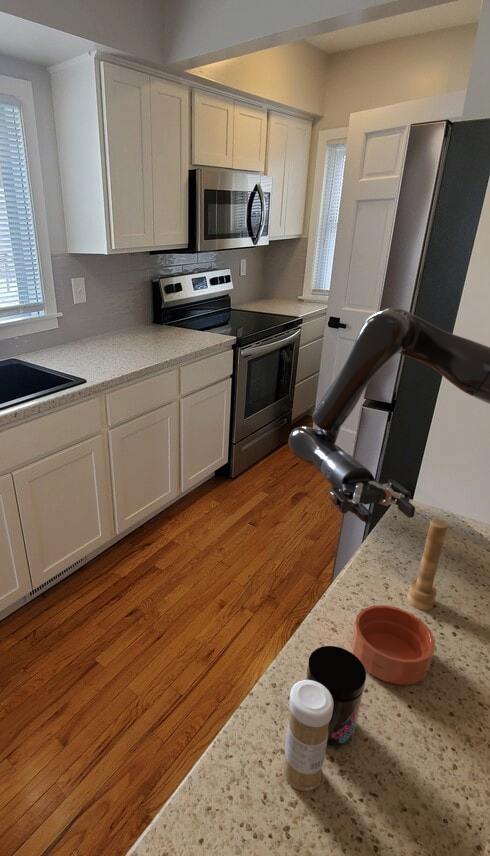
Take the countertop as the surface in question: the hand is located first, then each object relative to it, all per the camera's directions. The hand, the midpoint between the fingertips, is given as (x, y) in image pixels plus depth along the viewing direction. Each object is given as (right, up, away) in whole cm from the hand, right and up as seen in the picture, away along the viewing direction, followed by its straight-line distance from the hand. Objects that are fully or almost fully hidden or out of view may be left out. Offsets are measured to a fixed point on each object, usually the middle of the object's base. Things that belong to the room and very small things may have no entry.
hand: (391, 516), depth 89 cm
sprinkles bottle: (-25, -26, -30) cm, 47 cm away
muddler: (+2, -14, -6) cm, 15 cm away
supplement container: (-20, -23, -25) cm, 40 cm away
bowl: (-8, -18, -16) cm, 25 cm away
